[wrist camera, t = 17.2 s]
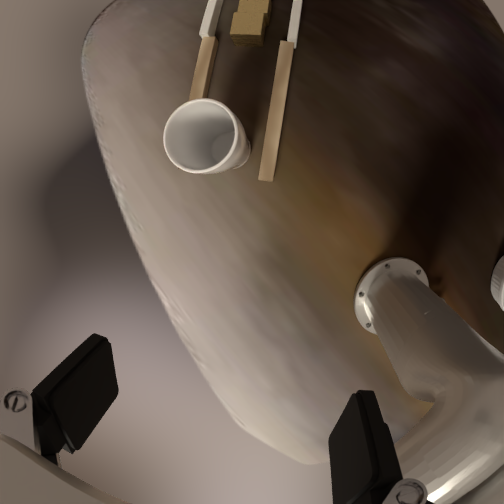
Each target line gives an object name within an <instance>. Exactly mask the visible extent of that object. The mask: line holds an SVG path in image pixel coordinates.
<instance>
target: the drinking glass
mask: <svg viewBox="0 0 504 504" xmlns="http://www.w3.org/2000/svg"><path fill="white" fill-rule="evenodd" d="M163 142H164V148H165V151H166V153H167V155H168V157H169V159H170V160H171V161H172V162H173V163H174V164H175V165H176V166H177V167H179V168H180V169H182V170H184V171H187V172H191V173H197V174H216V173H220V172H224V171H227V170H229V169H236V168H239V167H241V166H242V165H243V164H245V163H246V161H247V160H248V158H249V156H250V153H251V145H250V142H249V140H248V138H247V136H246V133H245V130H244V127H243V125H242V123H241V122H240V120H239V119H238V117H237V116H236V115H235V114H234V113H233V112H232V111H231V110H230V109H229V108H228V107H227V106H225V105H224V104H223V103H221V102H219V101H216V100H213V99H208V98H199V99H194V100H191V101H188V102H186V103H184V104H183V105H181V106H180V107H178V108H177V109H176V110H175V111H174V112H173V113H172V115H171V116H170V118H169V119H168V121H167V123H166V126H165V129H164V135H163Z"/></svg>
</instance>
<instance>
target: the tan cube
mask: <svg viewBox="0 0 504 504" xmlns="http://www.w3.org/2000/svg"><path fill="white" fill-rule="evenodd" d="M271 9H272V6H271V0H240V2H239V7H238V12H244V13H264V17H265V23H266V26H269V23H270V16H271Z"/></svg>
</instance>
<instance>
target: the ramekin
mask: <svg viewBox="0 0 504 504" xmlns="http://www.w3.org/2000/svg"><path fill="white" fill-rule="evenodd" d="M491 292H492V295H493V297H494V299H495V300H496V301H497V302H498V304H499V305H500V307H501V308H502V310H503V311H504V256H503V257H501V258H500V260H499V261H498V263H497V264H496V266H495V268H494V271H493V274H492V278H491Z"/></svg>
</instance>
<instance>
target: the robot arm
mask: <svg viewBox="0 0 504 504" xmlns="http://www.w3.org/2000/svg"><path fill="white" fill-rule="evenodd" d="M386 264H387V265H386ZM385 265H386V266H385ZM416 271H417V272H416ZM360 292H361V293H360ZM353 301H354V311H355V314H356V317H357V319H358V321H359V322H360V324H361V325H362V326H363V327H364V328H365V329H366V330H368V331H369V332H371V333H374V334H377V335H378V337H379V339H380V341H381V343H382V345H383V347H384V349H385V351H386V353H387V355H388V357H389V359H390V361H391V363H392V365H393V368H394V370H395V372H396V374H397V376H398V378H399V380H400V382H401V384H402V386H403V388H404V389H405V390H406V392H407V393H408V394H410V395H411V396H412V397H414V398H416V399H419V400H422V401H426V402H434V405H433V406H432V408H431V409H430V410H429V411H428V412H427V414H426V415H425V416H424V417H423V418H422V419H421V420H420V421H419V423H417V424H416V425H415V426H414V427H413V428H412V429H411V430H410V431H409V432H408V433H407V434H406V435H404V436H403V437H402V438H401V439H400V440H399V441H398V442H396V443H395V444H393V440H392V437H391V434H390V430H389V427H388V425H387V424H386V423H384V421H383V418H382V415H381V411H380V408H379V405H378V402H377V399H376V396H375V393H374V391H369V390H358V391H357V393H356V394H355V393H353V394H352V395H351V397H350V399H349V401H348V403H347V405H346V407H345V409H344V411H343V413H342V415H341V416H340V418H339V420H338V422H337V424H336V425H335V427H334V429H333V431H332V432H331V434H330V436H329V442H328V443H329V454H330V465H331V478H332V495H333V504H504V354H502V353H501V352H499V351H498V350H497V349H495V348H494V347H493V346H492V345H490V344H489V343H488V342H487V341H486V340H484V339H483V338H482V337H481V336H480V335H479V334H478V333H477V332H476V331H475V330H474V329H473V328H472V327H470V326H469V325H468V324H467V323H466V322H465V321H464V320H463V319H462V318H461V317H460V316H459V315H458V314H457V313H456V312H455V311H454V310H453V309H452V308H451V307H450V306H449V305H447V304H446V303H445V300H444V298H440V297H439V296H438V295H437V294H435V293H434V292H433V291H432V290H431V289H430V288H429V283H428V279H427V276H426V274H425V272H424V270H423V269H422V268H421V267H420V266H419V265H418V264H417V263H415V262H414V261H412V260H410V259H408V258H403V257H392V258H387V259H384V260H382V261H380V262H378V263H376V264H375V265H373V266H372V267H371V268H370V269H369V270H368V271H367V272H366V273H365V274H364V275H363V277H362V278H361V279H360V281H359V283H358V285H357V287H356V290H355V294H354V300H353ZM117 395H118V385H117V379H116V374H115V367H114V361H113V354H112V348H111V343H109V342H108V339H107V338H106V337H103V336H100V335H98V334H95V333H94V334H92V335H91V336H90V337H89V338H87V340H85V341H84V342H83V343H82V344H81V345H80V346H79V347H78V348H76V349H75V350H74V351H73V352H72V353H71V354H70V355H69V356H68V357H67V358H66V359H65V360H63V362H61V364H59V365H58V366H57V367H56V368H55V369H54V370H53V371H52V372H51V373H50V374H49V375H48V376H47V377H46V378H45V379H44V380H43V381H42V382H40V383H39V384H38V386H36V387H35V388H34V389H33V392H32V393H31V394H30V393H29V392H28V391H26V390H24V389H22V388H11V389H9V390H7V391H6V392H5V393H4V394H3V395H2V397H1V400H0V504H131V503H128V502H125V501H123V500H121V499H119V498H116V497H114V496H112V495H110V494H108V493H106V492H103V491H101V490H99V489H97V488H95V487H93V486H91V485H90V484H88V483H86V482H84V481H82V480H80V479H79V478H77V477H75V476H73V475H72V474H70V473H68V472H66V471H64V470H63V469H62V465H61V460H60V455H59V452H60V450H61V449H62V448H63V449H64V450H66V451H68V452H69V453H71V454H73V453H74V451H75V450H79V449H80V448H81V447H82V445H83V444H84V443H85V441H86V440H87V438H88V437H89V435H90V434H91V433H92V431H93V430H94V428H95V427H96V425H97V424H98V423H99V421H100V420H101V418H102V417H103V415H104V414H105V412H106V411H107V410H108V408H109V407H110V406H111V404H112V403H113V401H114V400H115V399H116V397H117Z"/></svg>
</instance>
